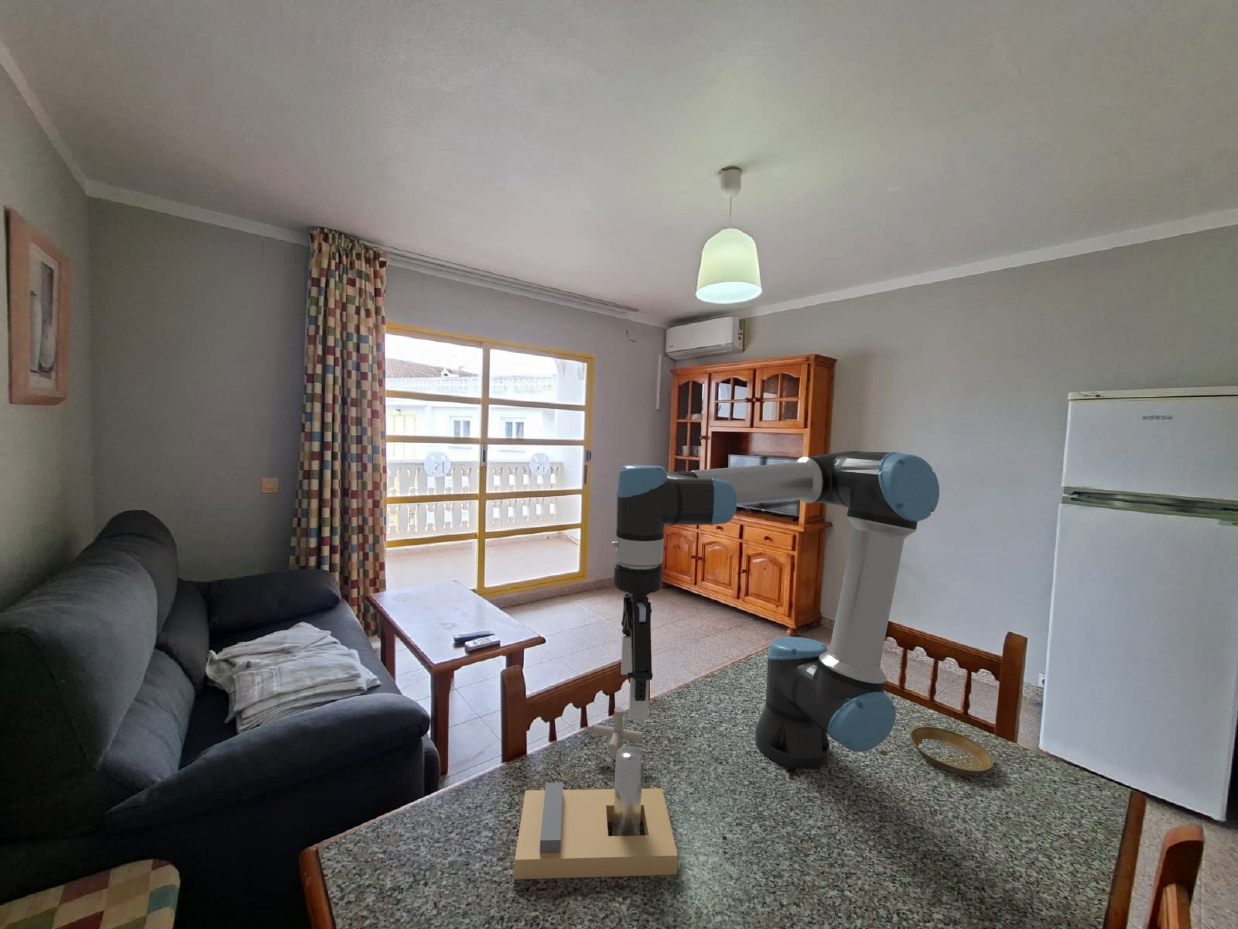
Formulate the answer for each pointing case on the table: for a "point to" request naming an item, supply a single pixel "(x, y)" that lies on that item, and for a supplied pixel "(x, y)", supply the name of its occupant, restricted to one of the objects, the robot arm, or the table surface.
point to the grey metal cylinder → (627, 791)
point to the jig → (590, 836)
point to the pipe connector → (617, 732)
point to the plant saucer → (961, 743)
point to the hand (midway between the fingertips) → (633, 694)
